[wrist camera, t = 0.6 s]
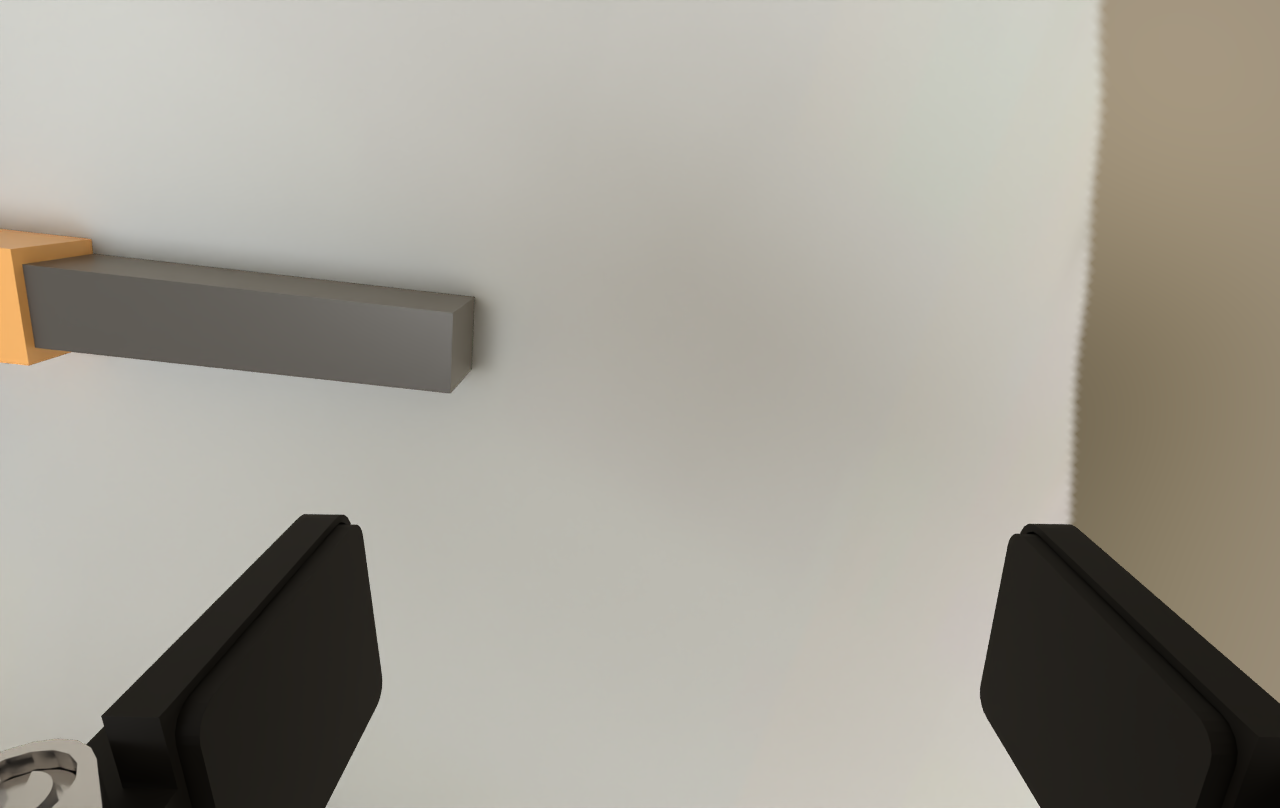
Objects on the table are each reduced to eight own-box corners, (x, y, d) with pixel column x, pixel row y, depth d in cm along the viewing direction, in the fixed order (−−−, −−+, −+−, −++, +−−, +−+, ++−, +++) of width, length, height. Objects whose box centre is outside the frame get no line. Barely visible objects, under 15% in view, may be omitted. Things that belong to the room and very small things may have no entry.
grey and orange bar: (475, 282, 30) (450, 298, 26) (471, 382, 31) (447, 411, 28) (-85, 219, 30) (-193, 226, 26) (-64, 323, 31) (-164, 344, 27)
